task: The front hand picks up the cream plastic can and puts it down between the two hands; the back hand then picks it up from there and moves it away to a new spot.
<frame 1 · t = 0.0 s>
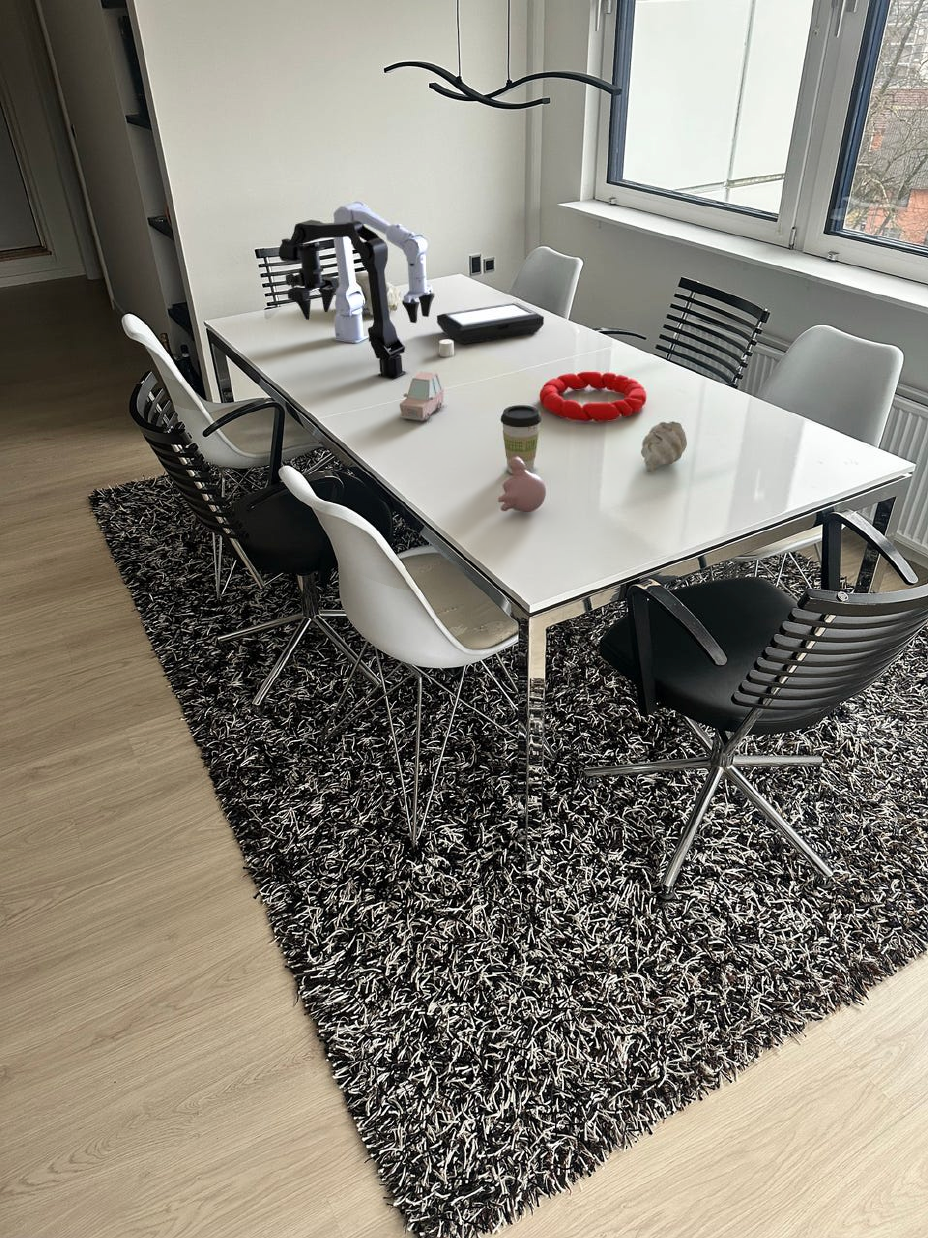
front hand: (316, 315, 285), 15 cm above the table, tool pointing down, fingers open, 9 cm apart
back hand: (419, 319, 294), 10 cm above the table, tool pointing down, fingers open, 7 cm apart
electronic device: (490, 332, 314), on the table
decorative ring: (592, 404, 255), on the table
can: (446, 354, 295), on the table
toy car: (422, 414, 252), on the table
animal skull: (365, 310, 341), on the table
figurine: (521, 511, 202), on the table
seashell: (660, 464, 221), on the table
coffee cup: (520, 470, 220), on the table
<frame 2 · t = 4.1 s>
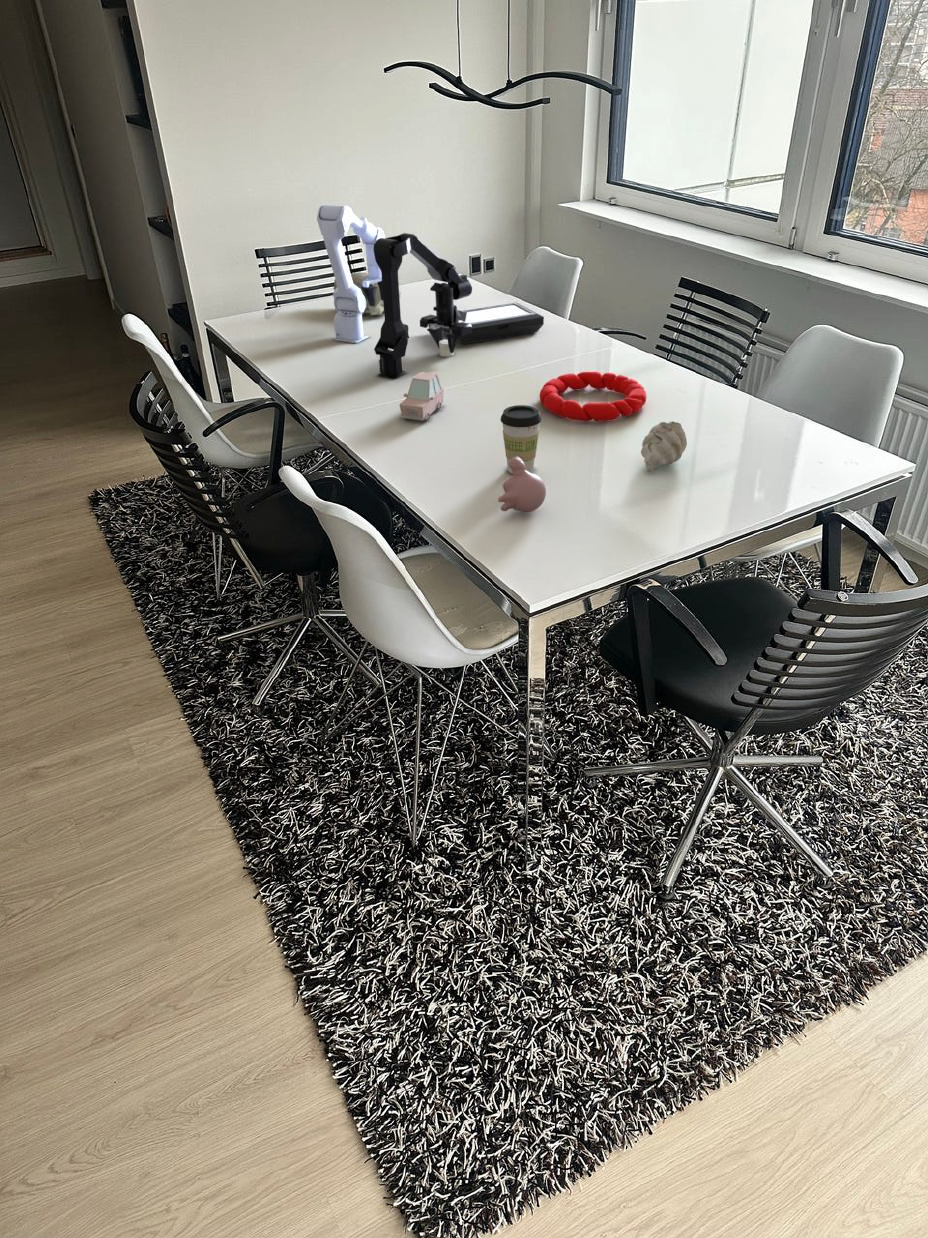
front hand: (446, 351, 295), 1 cm above the table, tool pointing down, fingers closed on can, 5 cm apart
back hand: (378, 303, 322), 8 cm above the table, tool pointing down, fingers open, 7 cm apart
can: (446, 354, 295), on the table, touching front hand
everything else where it was.
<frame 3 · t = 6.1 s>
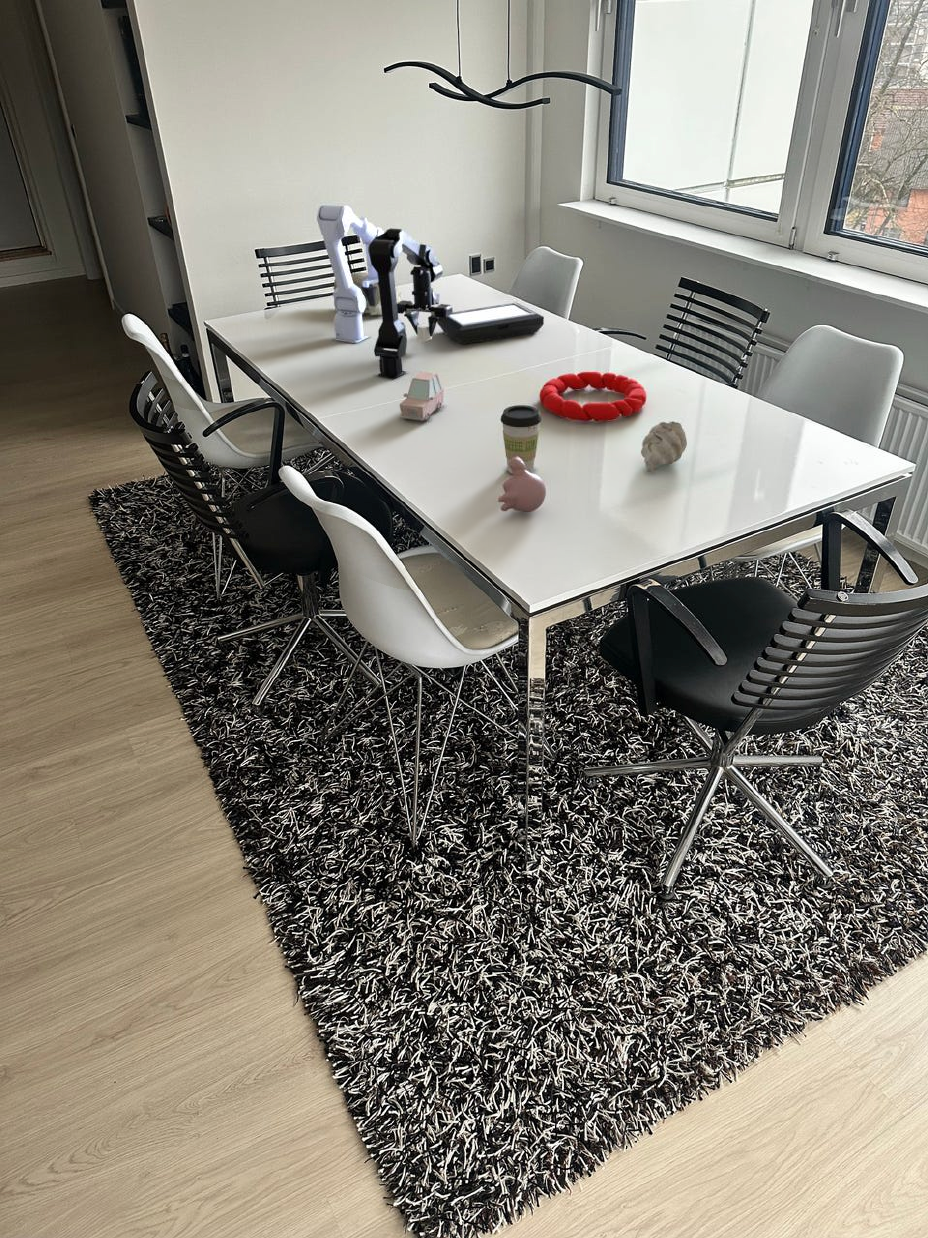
front hand: (424, 335, 296), 5 cm above the table, tool pointing down, fingers closed on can, 5 cm apart
back hand: (378, 303, 322), 8 cm above the table, tool pointing down, fingers open, 7 cm apart
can: (425, 338, 297), point 4 cm above the table, touching front hand
everything else where it was.
when the front hand's fingers open (2 cm above the table, at t = 8.1 s): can stays where it is, on the table.
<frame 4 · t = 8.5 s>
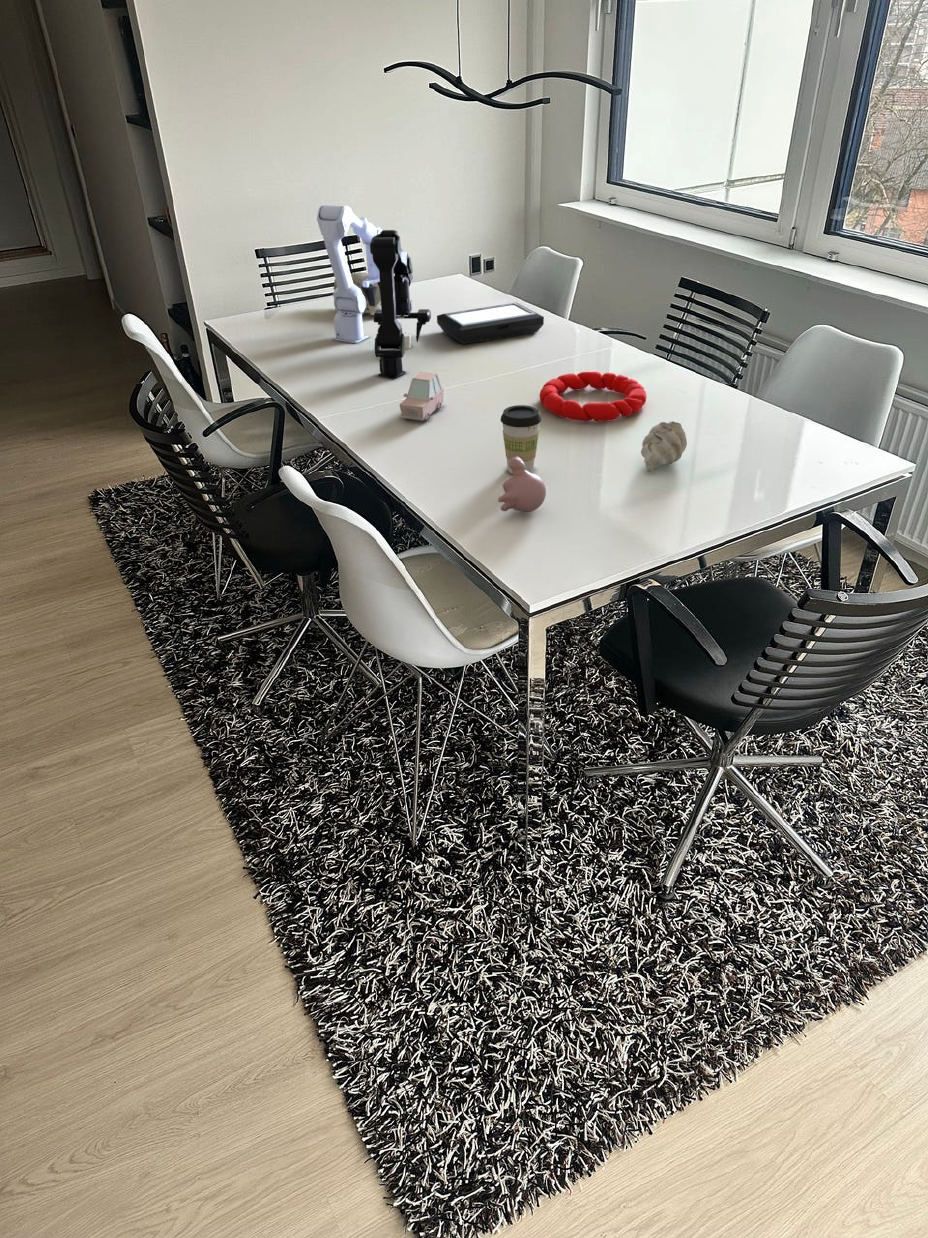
front hand: (403, 341, 302), 2 cm above the table, tool pointing down, fingers open, 9 cm apart
back hand: (378, 303, 322), 8 cm above the table, tool pointing down, fingers open, 7 cm apart
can: (404, 347, 303), on the table
everything else where it was.
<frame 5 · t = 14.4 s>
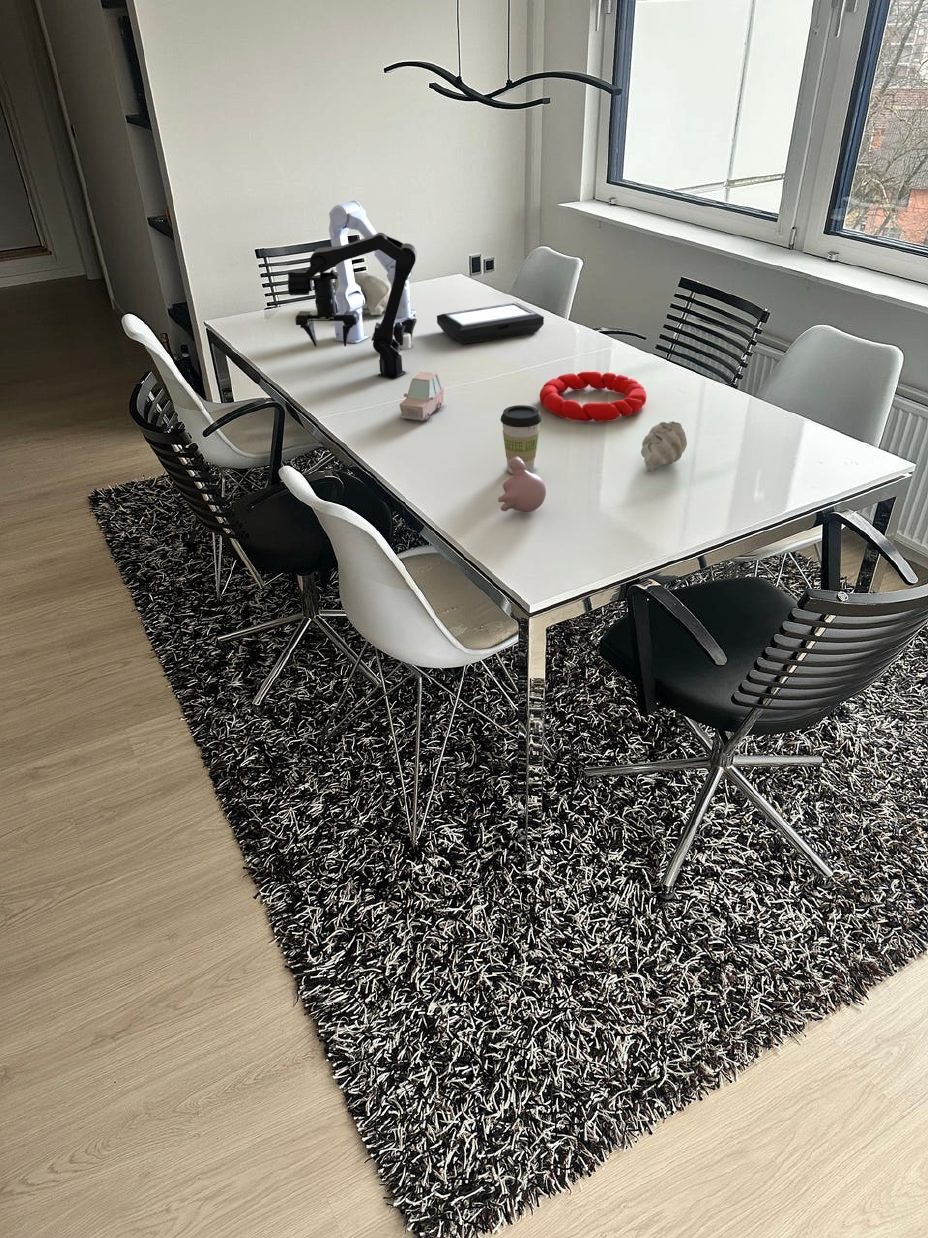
front hand: (330, 346, 275), 10 cm above the table, tool pointing down, fingers open, 9 cm apart
back hand: (404, 342, 302), 1 cm above the table, tool pointing down, fingers closed on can, 5 cm apart
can: (404, 346, 303), on the table, touching back hand
everything else where it was.
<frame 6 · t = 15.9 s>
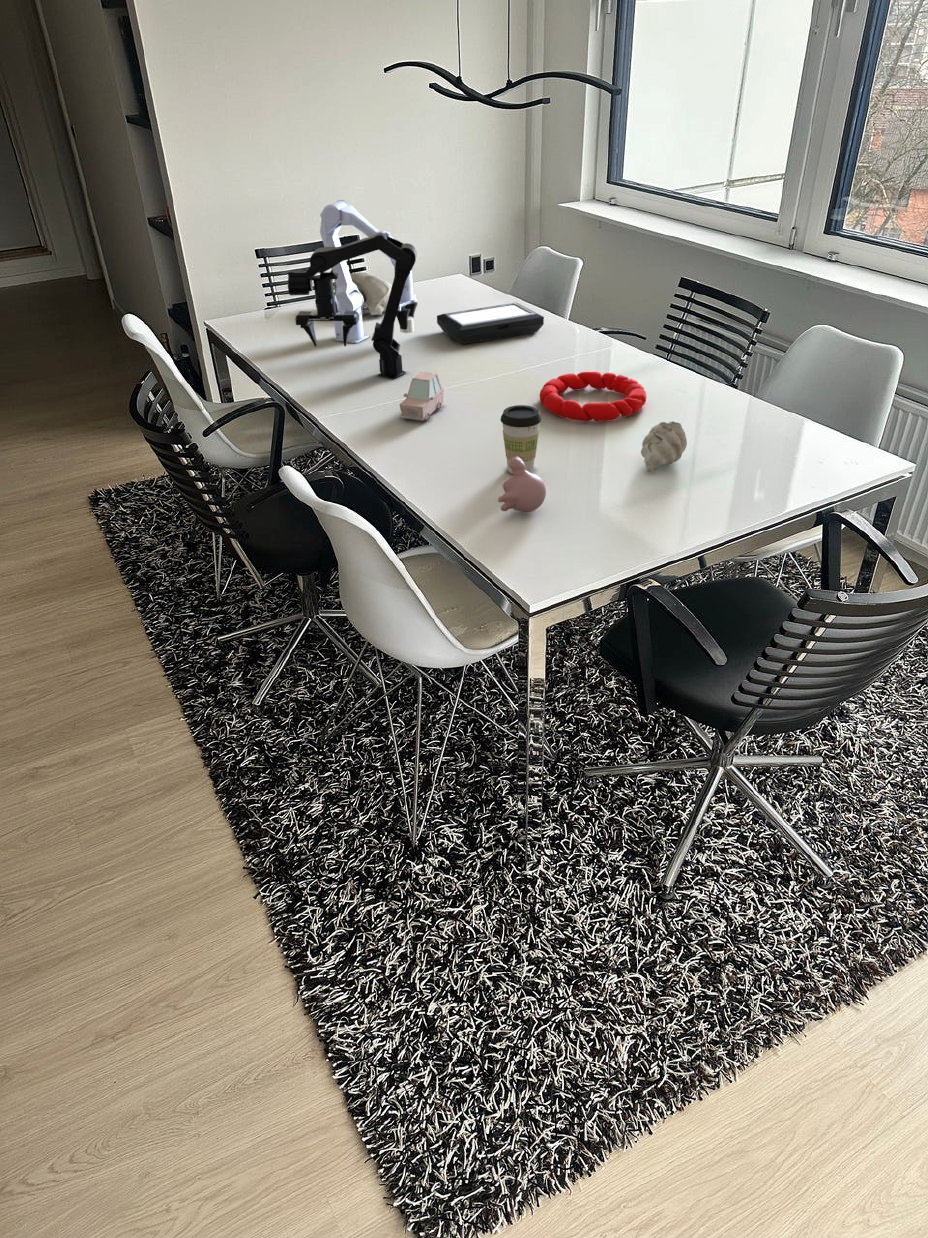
front hand: (330, 346, 275), 10 cm above the table, tool pointing down, fingers open, 9 cm apart
back hand: (406, 326, 303), 6 cm above the table, tool pointing down, fingers closed on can, 5 cm apart
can: (407, 330, 304), point 4 cm above the table, touching back hand
everything else where it was.
when the back hand's fingers open (2 cm above the table, at t = 17.9 s): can stays where it is, on the table.
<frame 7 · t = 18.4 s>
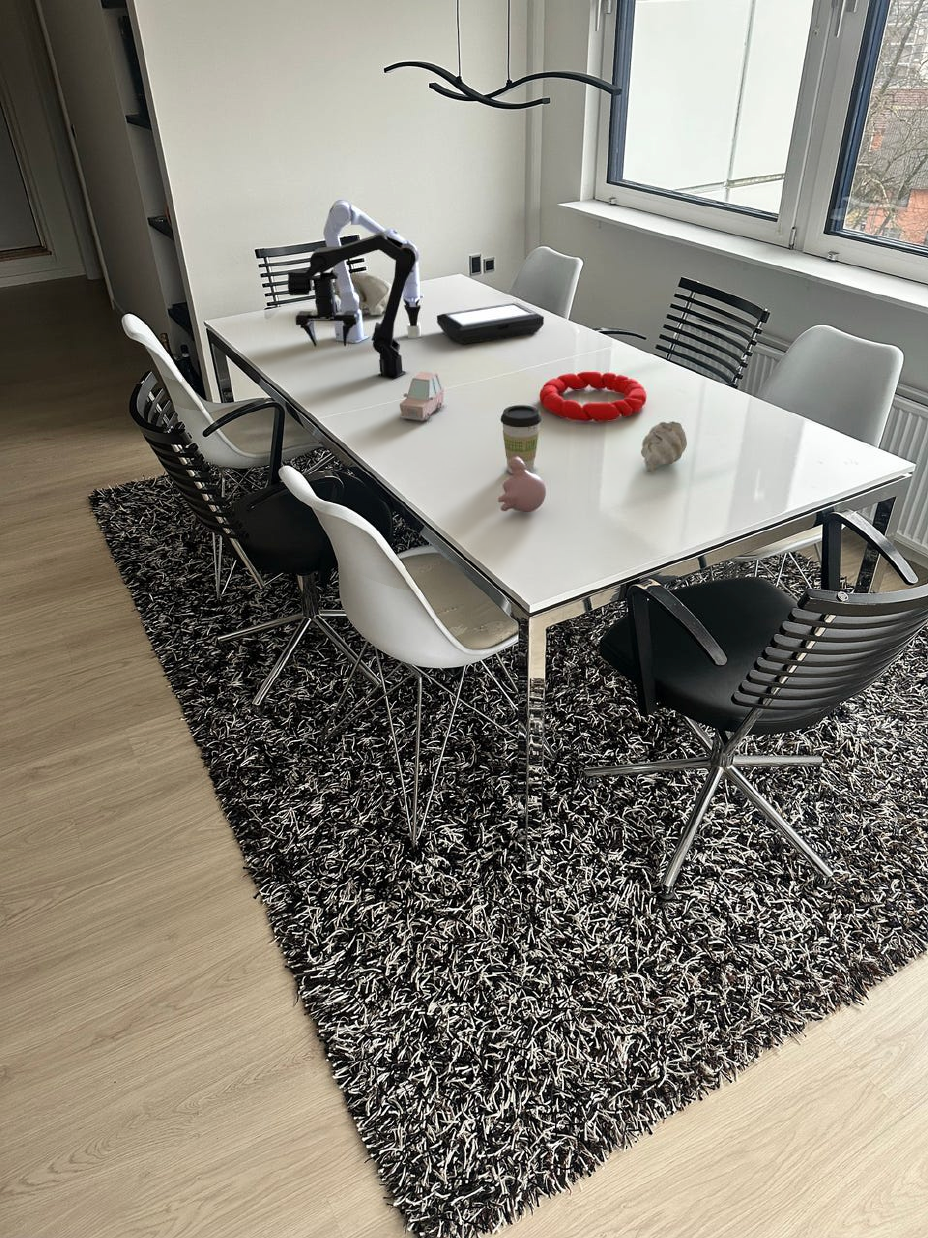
front hand: (330, 346, 275), 10 cm above the table, tool pointing down, fingers open, 9 cm apart
back hand: (413, 322, 310), 5 cm above the table, tool pointing down, fingers open, 7 cm apart
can: (414, 335, 313), on the table
everything else where it was.
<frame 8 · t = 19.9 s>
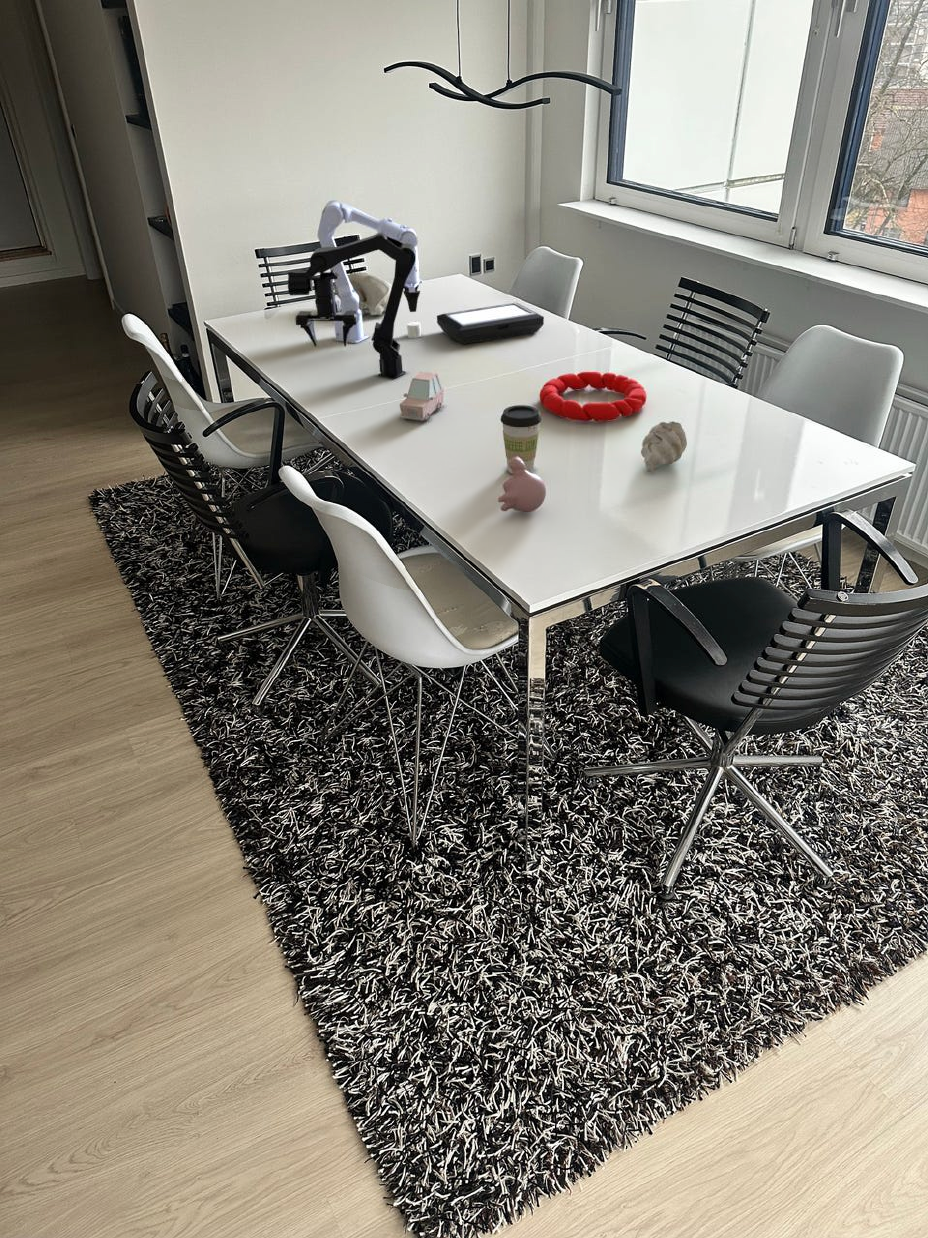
front hand: (330, 346, 275), 10 cm above the table, tool pointing down, fingers open, 9 cm apart
back hand: (412, 308, 308), 9 cm above the table, tool pointing down, fingers open, 7 cm apart
nothing on the table moved.
at the end: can inside the target area (0.1 cm from its centre), on the table; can tilted 0°; the two hands never held the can at the same time; the front hand is holding nothing; the back hand is holding nothing; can at rest at the end (0.0 cm/s) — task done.
